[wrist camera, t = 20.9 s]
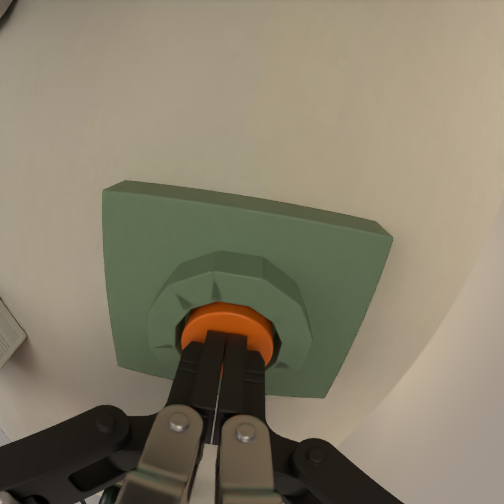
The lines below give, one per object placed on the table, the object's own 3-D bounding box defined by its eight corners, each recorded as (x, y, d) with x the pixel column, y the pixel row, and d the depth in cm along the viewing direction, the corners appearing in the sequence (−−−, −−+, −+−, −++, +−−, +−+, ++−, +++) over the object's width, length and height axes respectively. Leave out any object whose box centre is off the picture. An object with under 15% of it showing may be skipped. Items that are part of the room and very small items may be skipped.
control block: (376, 221, 13) (414, 255, 9) (319, 372, 17) (329, 423, 13) (124, 179, 12) (77, 200, 9) (130, 342, 16) (106, 388, 13)
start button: (280, 294, 12) (282, 320, 10) (263, 357, 13) (263, 385, 11) (191, 280, 12) (181, 304, 10) (188, 345, 13) (180, 372, 11)
